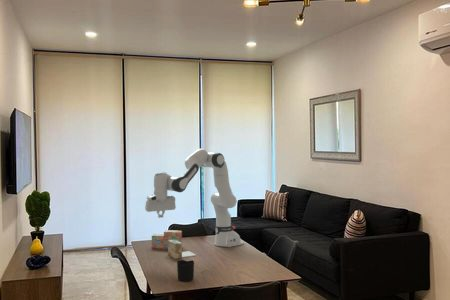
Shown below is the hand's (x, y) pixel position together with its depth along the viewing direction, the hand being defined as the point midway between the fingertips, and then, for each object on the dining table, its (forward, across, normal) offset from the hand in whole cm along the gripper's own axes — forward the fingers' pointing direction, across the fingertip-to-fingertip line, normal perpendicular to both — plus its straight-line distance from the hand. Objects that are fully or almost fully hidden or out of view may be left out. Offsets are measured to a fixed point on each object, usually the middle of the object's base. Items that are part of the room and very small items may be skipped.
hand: (160, 217), depth 287 cm
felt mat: (+27, -18, 0) cm, 32 cm away
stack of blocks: (+28, -14, -26) cm, 41 cm away
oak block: (+27, -10, 0) cm, 29 cm away
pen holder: (+27, +4, +50) cm, 57 cm away
